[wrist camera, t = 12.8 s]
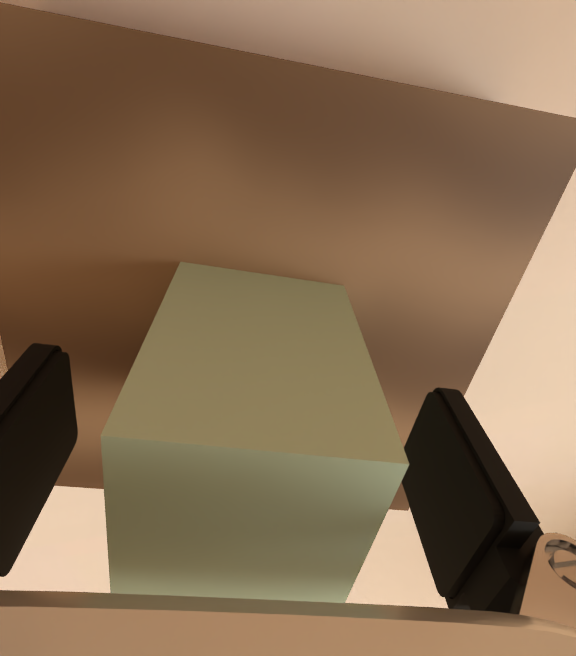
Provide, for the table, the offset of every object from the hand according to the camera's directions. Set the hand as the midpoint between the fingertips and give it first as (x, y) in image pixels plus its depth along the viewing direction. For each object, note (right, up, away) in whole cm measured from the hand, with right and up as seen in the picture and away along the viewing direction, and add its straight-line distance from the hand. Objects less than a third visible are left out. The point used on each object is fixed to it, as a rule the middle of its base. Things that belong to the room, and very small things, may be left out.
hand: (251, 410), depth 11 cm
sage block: (0, +2, +3) cm, 3 cm away
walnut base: (0, +4, +7) cm, 8 cm away
